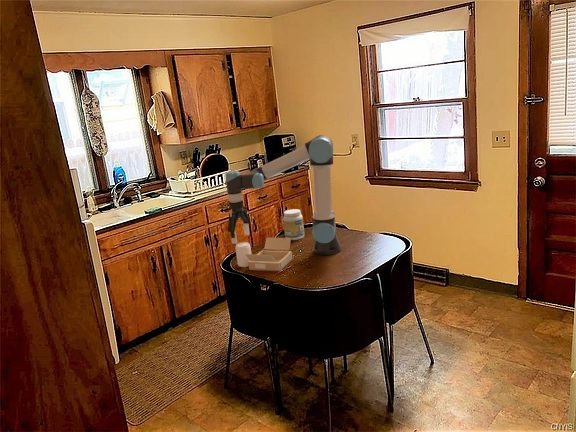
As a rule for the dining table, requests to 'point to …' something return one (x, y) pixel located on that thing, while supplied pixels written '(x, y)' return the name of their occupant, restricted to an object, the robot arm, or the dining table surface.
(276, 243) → the back flap
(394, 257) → the dining table surface
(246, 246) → the beverage can
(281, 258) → the carton
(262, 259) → the front flap
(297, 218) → the supplement tub
